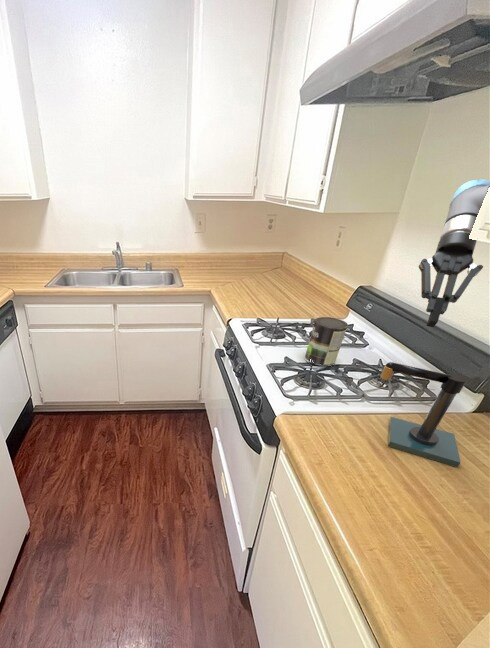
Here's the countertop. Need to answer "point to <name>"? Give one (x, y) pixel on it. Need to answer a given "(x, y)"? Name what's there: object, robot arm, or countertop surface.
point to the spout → (426, 376)
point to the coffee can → (325, 340)
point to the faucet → (426, 434)
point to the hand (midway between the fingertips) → (431, 324)
